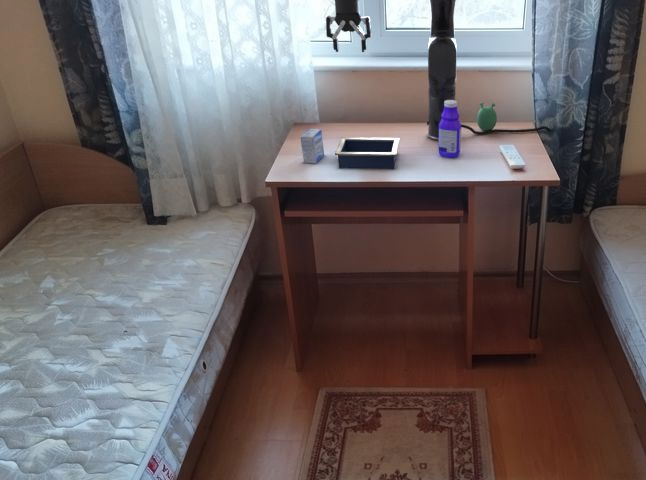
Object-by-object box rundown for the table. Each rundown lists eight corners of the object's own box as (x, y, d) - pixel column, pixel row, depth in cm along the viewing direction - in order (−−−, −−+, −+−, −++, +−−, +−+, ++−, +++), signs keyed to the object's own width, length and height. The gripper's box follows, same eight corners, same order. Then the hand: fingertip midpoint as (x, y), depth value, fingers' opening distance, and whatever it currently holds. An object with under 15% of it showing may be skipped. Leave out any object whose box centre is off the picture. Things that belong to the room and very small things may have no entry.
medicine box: (316, 164, 213) (313, 137, 208) (303, 163, 213) (300, 136, 208) (324, 155, 219) (322, 129, 214) (311, 154, 220) (308, 128, 214)
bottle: (462, 154, 220) (464, 100, 210) (457, 159, 216) (458, 105, 206) (441, 151, 222) (442, 97, 212) (436, 157, 218) (436, 102, 208)
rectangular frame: (399, 153, 221) (399, 138, 218) (396, 170, 209) (395, 154, 206) (342, 152, 221) (341, 137, 218) (336, 169, 209) (334, 153, 206)
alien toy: (495, 127, 243) (496, 99, 237) (496, 134, 237) (498, 105, 231) (475, 127, 243) (476, 99, 237) (477, 134, 237) (478, 105, 231)
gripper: (370, -6, 210) (373, 49, 220) (325, -7, 211) (330, 48, 220) (368, -2, 204) (370, 54, 214) (321, -3, 205) (326, 54, 214)
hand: (350, 51), depth 217 cm, fingers open, 8 cm apart
